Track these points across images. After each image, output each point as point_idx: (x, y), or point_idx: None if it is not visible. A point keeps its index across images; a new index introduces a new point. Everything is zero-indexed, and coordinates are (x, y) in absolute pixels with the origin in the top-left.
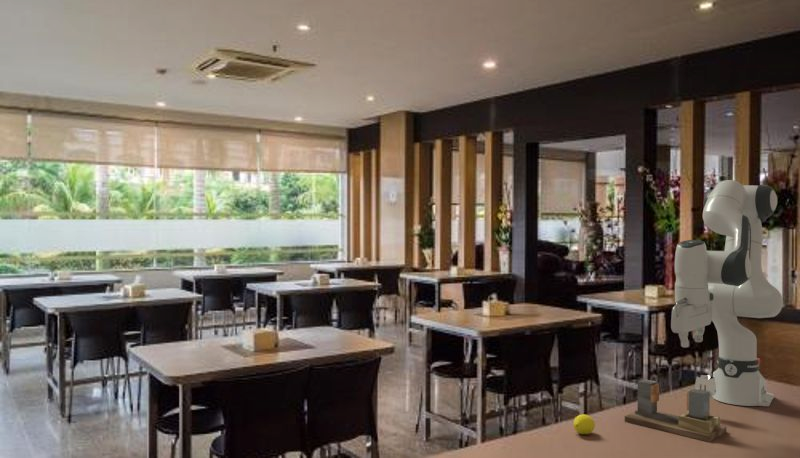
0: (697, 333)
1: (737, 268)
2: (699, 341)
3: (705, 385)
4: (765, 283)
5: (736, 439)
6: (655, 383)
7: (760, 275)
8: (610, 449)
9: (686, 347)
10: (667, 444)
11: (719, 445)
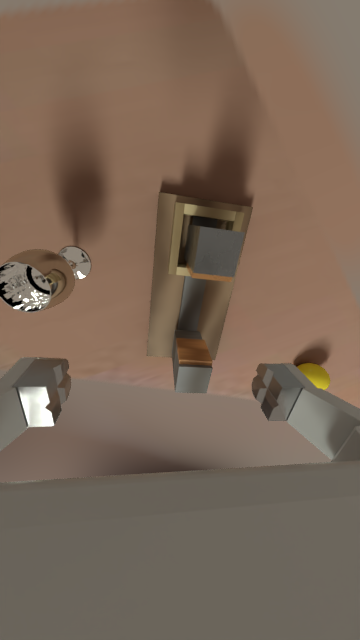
0: (6, 433)
1: None
2: (66, 365)
3: (62, 275)
4: None
5: (196, 159)
6: (187, 364)
7: None
8: (355, 320)
9: (289, 364)
10: (298, 266)
11: (258, 183)
